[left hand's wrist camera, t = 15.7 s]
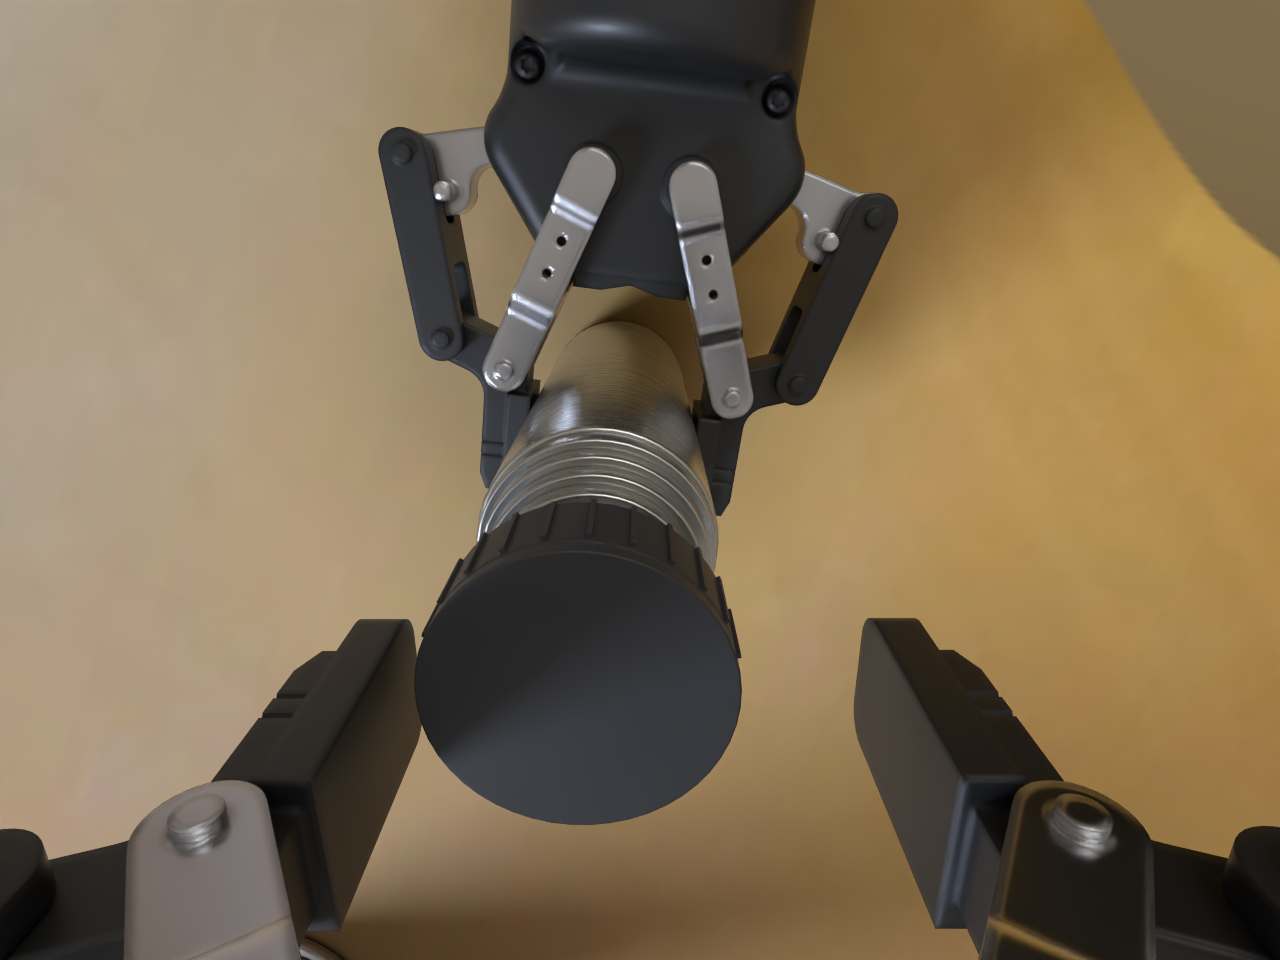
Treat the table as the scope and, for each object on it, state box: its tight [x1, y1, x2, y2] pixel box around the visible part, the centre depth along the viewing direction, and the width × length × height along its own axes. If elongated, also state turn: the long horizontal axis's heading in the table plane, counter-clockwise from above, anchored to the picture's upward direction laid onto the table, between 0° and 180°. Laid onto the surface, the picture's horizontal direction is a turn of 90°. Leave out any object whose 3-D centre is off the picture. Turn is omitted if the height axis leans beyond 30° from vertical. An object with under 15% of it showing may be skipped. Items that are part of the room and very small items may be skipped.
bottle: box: [477, 321, 718, 573], centre depth 20 cm, size 5×5×19 cm
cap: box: [414, 499, 742, 825], centre depth 11 cm, size 5×5×2 cm
